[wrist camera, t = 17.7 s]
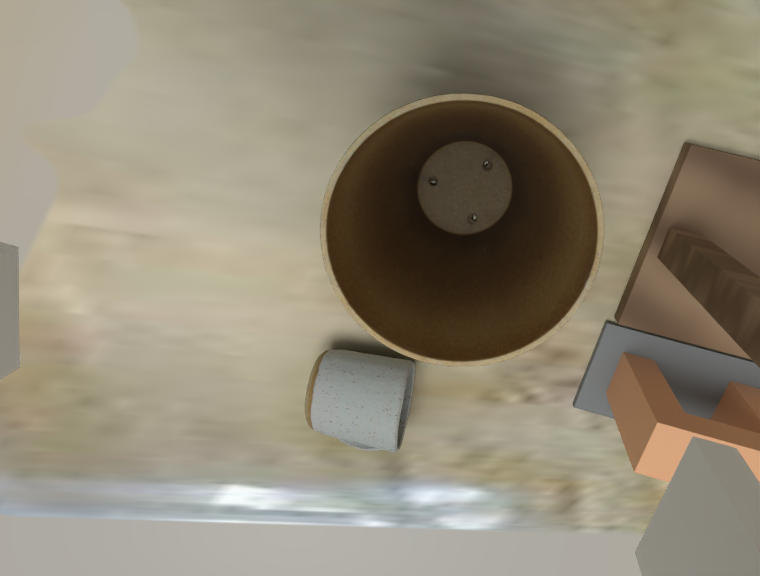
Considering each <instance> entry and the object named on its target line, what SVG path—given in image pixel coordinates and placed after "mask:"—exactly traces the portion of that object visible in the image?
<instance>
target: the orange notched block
mask: <svg viewBox="0 0 760 576" xmlns="http://www.w3.org/2000/svg"><path fill="white" fill-rule="evenodd" d="M606 396H607V399H608V401H609V404H610V407H611V410H612V412H613V415H614V418H615V421H616V423H617V426H618V429H619V432H620V434H621V437H622V440H623V442H624V445H625V448H626V451H627V453H628V456H629V459H630V462H631V464H632V467H633V470H634V472H636V473H639V474H643V475H646V476H650V477H653V478H657V479H660V480H664V481H667V482H670V481H671V479H672V477H673V475H674V473H675V471H676V469H677V467H678V465H679V463H680V461H681V459H682V457H683V455H684V453H685V451H686V449H687V447H688V445H689V443H690V441H691V439H692V437H693V436H695V437H698V438H702V439H705V440H709V441H712V442H716V443H720V444H723V445H727V446H730V447H734V448H737V449H738V451H739V452H740V454H741V455H742V457H743V458H744V460H745V461H746V463H747V464H748V466H749V467H750V469H751V471H752V472H753V474H754V475H755V477H756V478H757V480H758V481H759V483H760V389H759V388H755V387H751V386H748V385H744V384H740V383H737V382H733V381H730V382H729V384H728V386H727V388H726V390H725V392H724V394H723V396H722V398H721V400H720V402H719V404H718V406H717V408H716V410H715V412H714V414H713V416H712V418H711V420H709V419H705V418H702V417H698V416H695V415H691V414H687V413H685V412H684V410H683V409H682V407H681V405H680V404H679V402H678V400H677V398H676V397H675V395H674V393H673V391H672V390H671V388H670V386H669V385H668V383H667V381H666V379H665V378H664V376H663V374H662V373H661V371H660V369H659V367H658V366H657V364H656V362H655V360H652V359H648V358H645V357H641V356H637V355H634V354H630V353H626V352H623V353H622V356H621V358H620V360H619V363H618V365H617V368H616V370H615V372H614V375H613V377H612V380H611V382H610V384H609V387H608V389H607V391H606Z"/></svg>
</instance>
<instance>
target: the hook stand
mask: <svg viewBox="0 0 760 576" xmlns="http://www.w3.org/2000/svg"><path fill="white" fill-rule="evenodd" d="M614 317H615V319H616V321H617V323H618V324H620V325H624V326H628V327H632V328H635V329H639V330H643V331H646V332H650V333H654V334H658V335H661V336H665V337H669V338H673V339H676V340H680V341H684V342H688V343H691V344H695V345H699V346H703V347H706V348H710V349H714V350H717V351H721V352H725V353H729V354H732V355H736V356H740V357H744V358H747V359H751V360H753V362H754V363H755V364H756V365H757V366H758V367H759V368H760V160H756V159H752V158H747V157H743V156H739V155H735V154H731V153H726V152H722V151H718V150H714V149H710V148H705V147H701V146H697V145H693V144H689V143H684V145H683V148H682V150H681V153H680V155H679V158H678V160H677V163H676V165H675V168H674V170H673V172H672V175H671V177H670V180H669V182H668V185H667V187H666V190H665V192H664V195H663V197H662V200H661V202H660V205H659V207H658V210H657V212H656V215H655V217H654V220H653V222H652V225H651V227H650V230H649V232H648V235H647V237H646V239H645V242H644V244H643V247H642V249H641V252H640V254H639V257H638V259H637V262H636V264H635V267H634V269H633V272H632V274H631V277H630V279H629V282H628V284H627V287H626V289H625V292H624V294H623V297H622V299H621V302H620V304H619V306H618V309H617V311H616V314H615V316H614Z"/></svg>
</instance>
